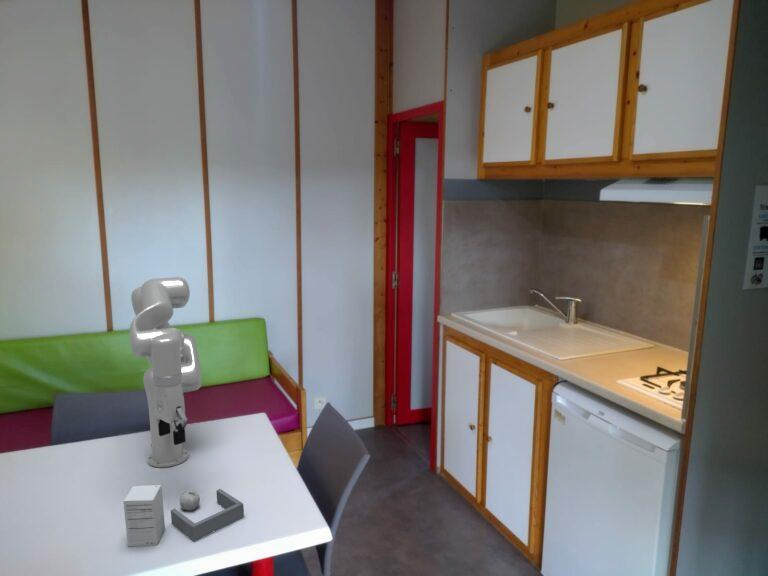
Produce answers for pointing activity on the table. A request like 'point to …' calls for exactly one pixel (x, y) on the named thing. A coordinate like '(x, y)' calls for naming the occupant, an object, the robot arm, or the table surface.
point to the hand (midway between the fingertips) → (172, 438)
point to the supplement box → (144, 515)
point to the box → (212, 523)
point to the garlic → (189, 500)
